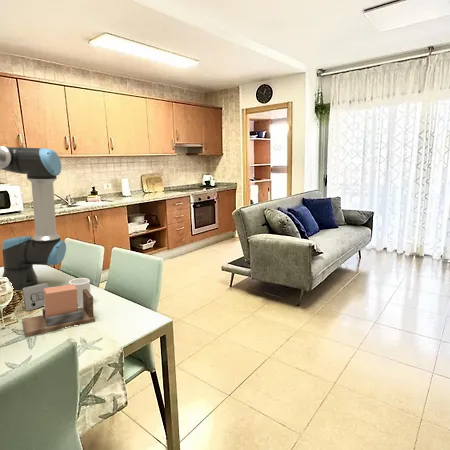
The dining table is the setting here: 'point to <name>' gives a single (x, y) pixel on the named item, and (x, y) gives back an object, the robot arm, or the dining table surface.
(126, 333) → the dining table surface
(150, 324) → the dining table surface
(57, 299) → the pink block
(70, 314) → the wooden block holder
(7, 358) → the dining table surface
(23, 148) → the robot arm
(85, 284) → the mug
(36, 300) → the electrical switch
